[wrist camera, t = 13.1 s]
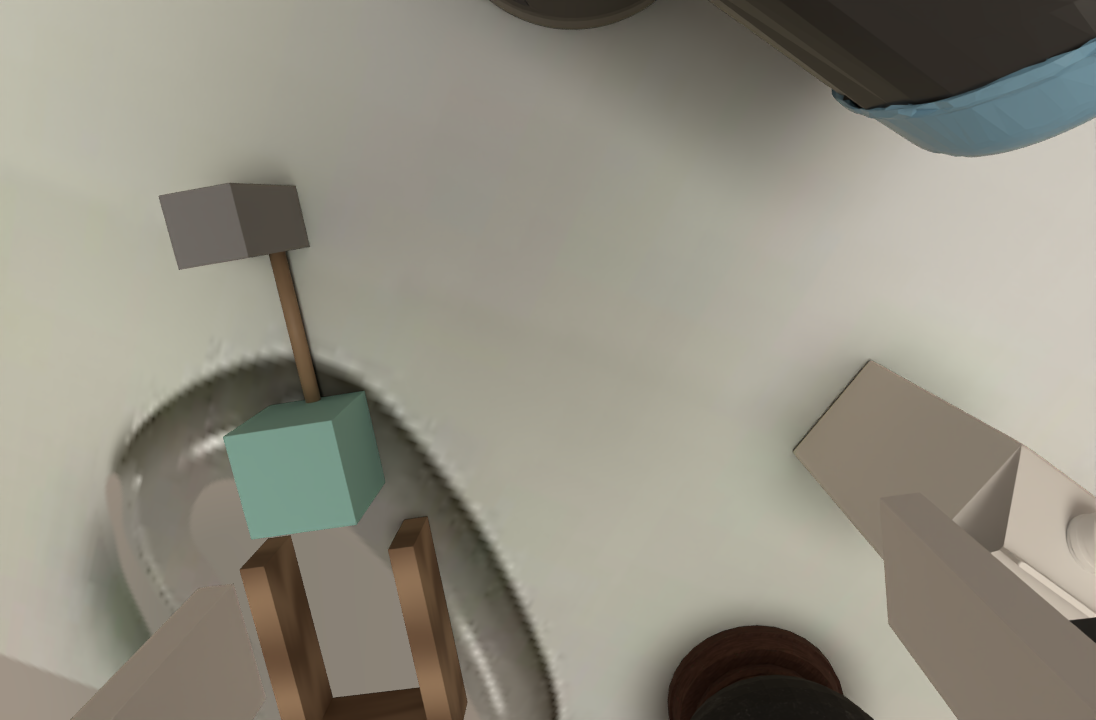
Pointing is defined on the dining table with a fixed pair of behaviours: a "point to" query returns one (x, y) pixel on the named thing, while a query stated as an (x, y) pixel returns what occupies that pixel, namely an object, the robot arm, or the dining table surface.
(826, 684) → the speckled black round top
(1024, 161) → the dining table surface
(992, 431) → the milk carton
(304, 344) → the cube dumbbell
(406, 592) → the wooden u-shaped block
